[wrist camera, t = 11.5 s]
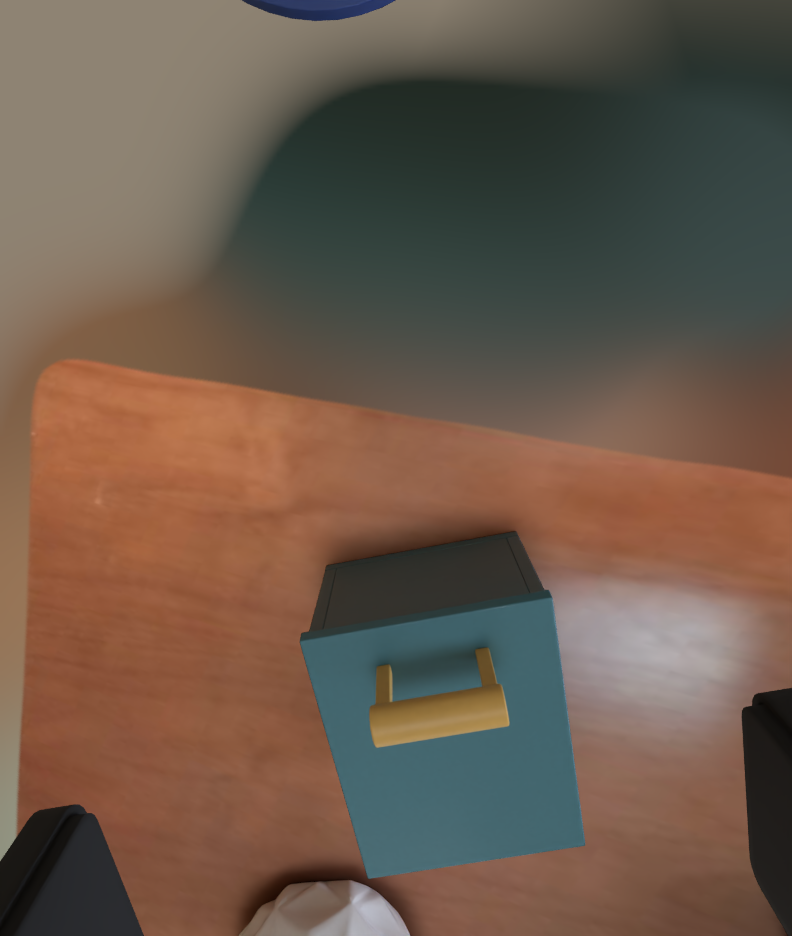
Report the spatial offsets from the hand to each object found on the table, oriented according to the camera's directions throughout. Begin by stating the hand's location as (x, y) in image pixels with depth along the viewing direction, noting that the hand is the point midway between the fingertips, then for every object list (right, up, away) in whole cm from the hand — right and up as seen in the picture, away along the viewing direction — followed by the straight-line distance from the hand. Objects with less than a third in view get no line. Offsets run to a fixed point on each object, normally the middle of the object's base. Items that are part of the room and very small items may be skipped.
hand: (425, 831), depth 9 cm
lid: (+2, -10, +26) cm, 28 cm away
